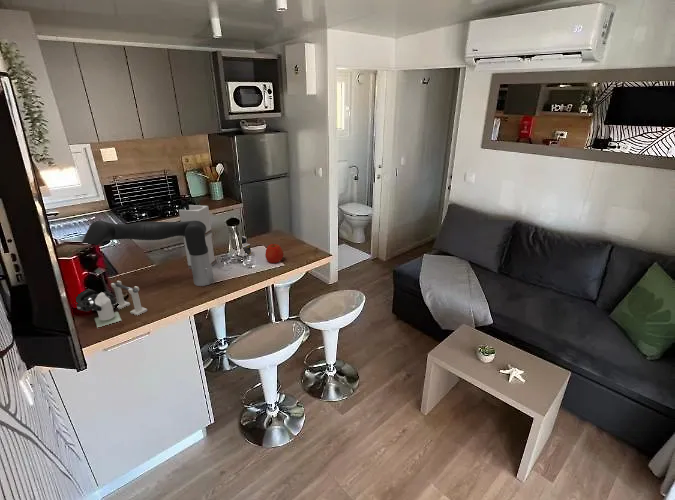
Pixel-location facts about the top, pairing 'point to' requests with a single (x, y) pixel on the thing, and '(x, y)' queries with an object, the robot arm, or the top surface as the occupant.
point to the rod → (125, 287)
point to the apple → (274, 253)
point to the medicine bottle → (246, 245)
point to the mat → (110, 321)
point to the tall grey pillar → (203, 216)
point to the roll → (104, 307)
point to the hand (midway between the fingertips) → (107, 305)
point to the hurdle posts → (122, 303)
